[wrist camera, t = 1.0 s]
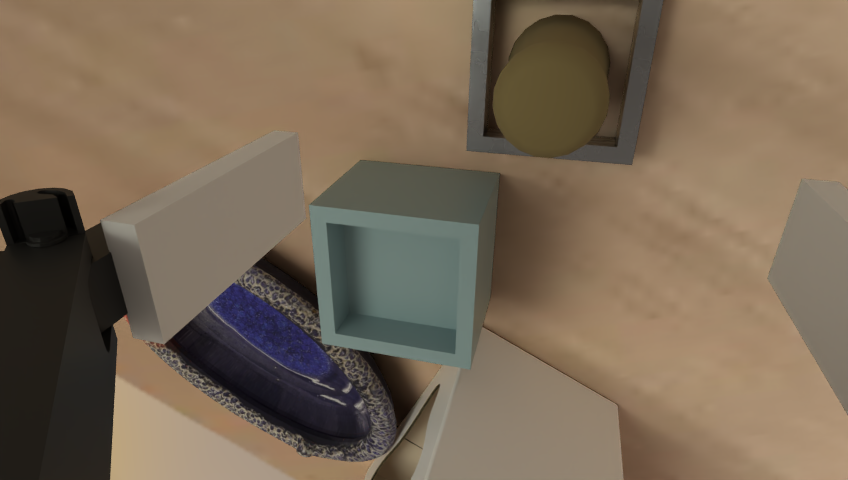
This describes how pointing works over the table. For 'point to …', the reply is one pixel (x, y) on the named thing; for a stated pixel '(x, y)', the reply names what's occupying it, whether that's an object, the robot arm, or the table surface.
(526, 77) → the olive brown hourglass shape
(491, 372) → the gable box
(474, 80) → the socket collar
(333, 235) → the open box
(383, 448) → the dish
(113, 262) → the robot arm
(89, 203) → the table surface
